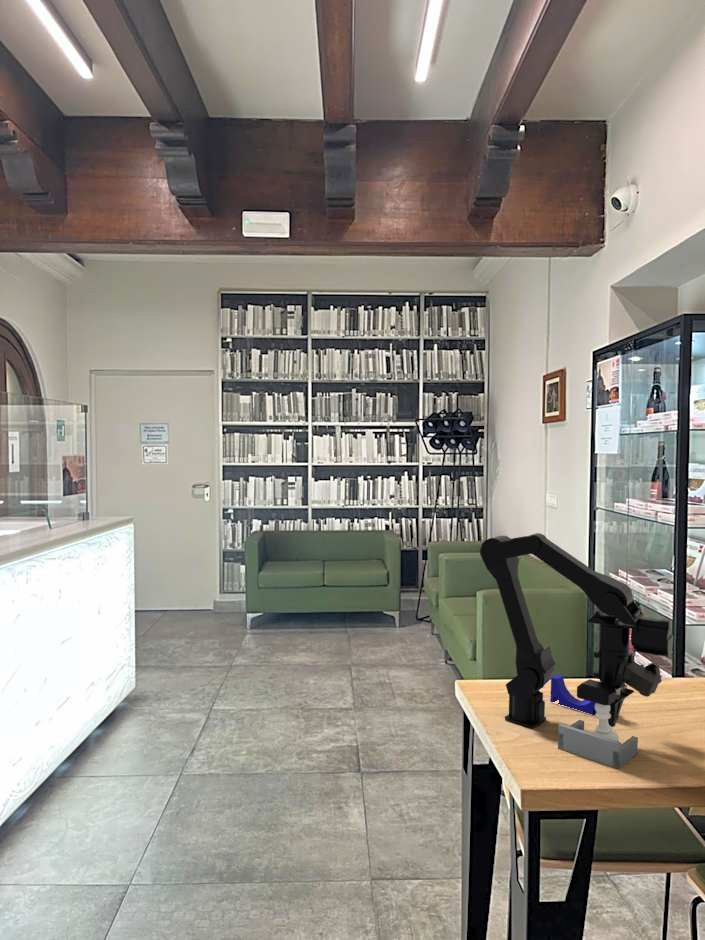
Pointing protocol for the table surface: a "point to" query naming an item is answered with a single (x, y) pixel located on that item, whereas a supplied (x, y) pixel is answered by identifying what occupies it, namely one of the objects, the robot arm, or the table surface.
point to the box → (595, 745)
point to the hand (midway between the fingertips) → (611, 726)
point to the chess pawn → (604, 722)
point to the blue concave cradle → (568, 696)
